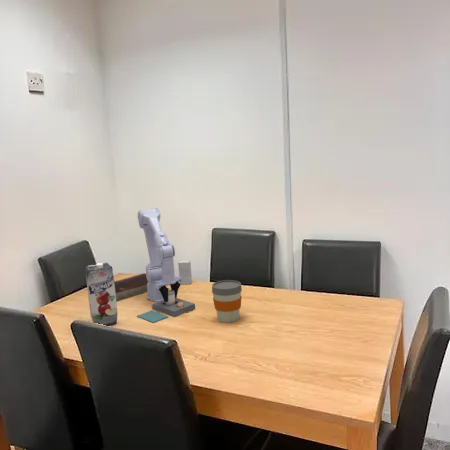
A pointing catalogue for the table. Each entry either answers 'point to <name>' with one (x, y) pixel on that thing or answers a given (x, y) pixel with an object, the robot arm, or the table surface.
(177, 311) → the grey board with holes
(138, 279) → the hardback book
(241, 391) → the table surface
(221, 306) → the reusable coffee cup
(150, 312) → the mat
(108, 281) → the juice carton
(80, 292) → the table surface
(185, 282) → the skincare box
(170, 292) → the filter cartridge
